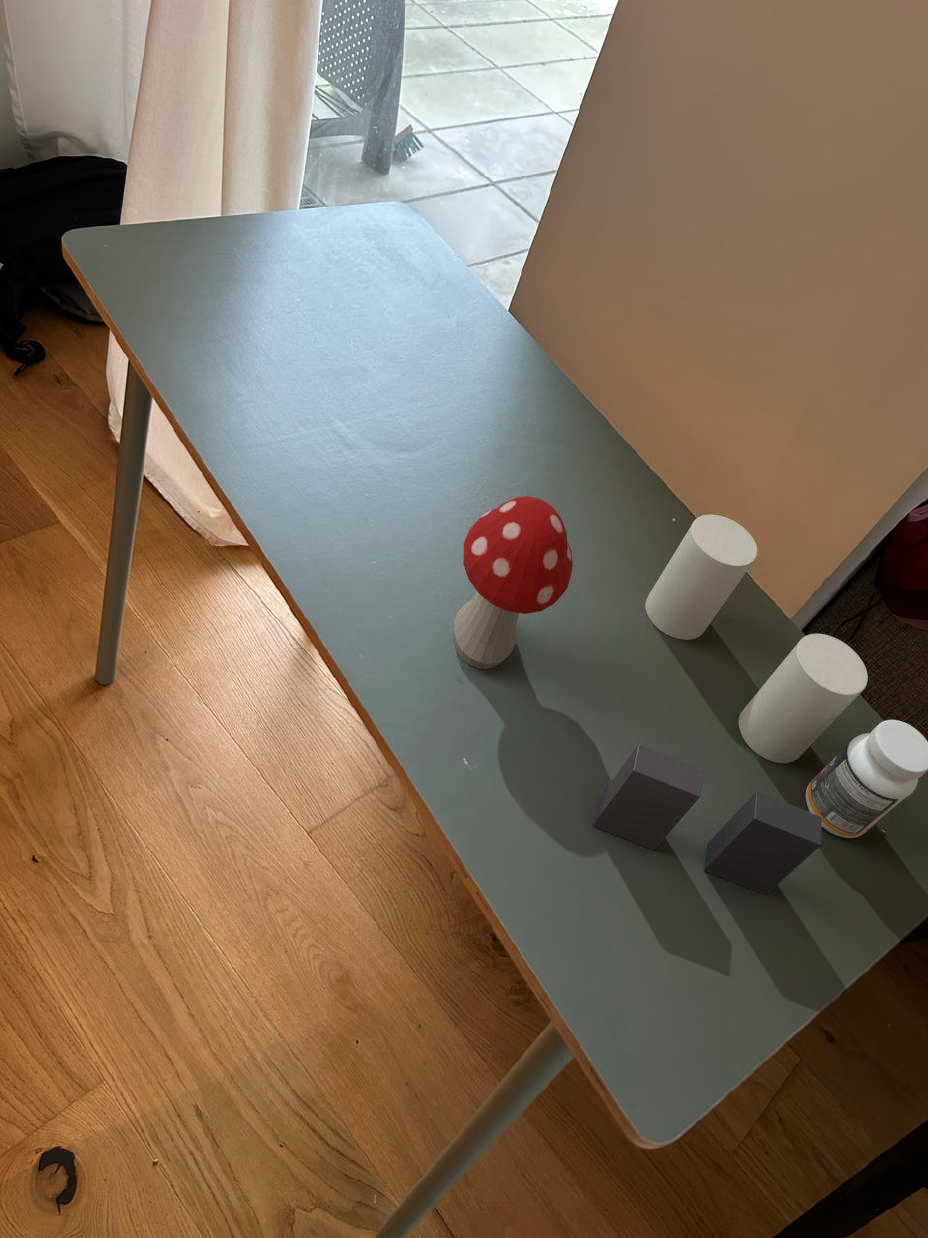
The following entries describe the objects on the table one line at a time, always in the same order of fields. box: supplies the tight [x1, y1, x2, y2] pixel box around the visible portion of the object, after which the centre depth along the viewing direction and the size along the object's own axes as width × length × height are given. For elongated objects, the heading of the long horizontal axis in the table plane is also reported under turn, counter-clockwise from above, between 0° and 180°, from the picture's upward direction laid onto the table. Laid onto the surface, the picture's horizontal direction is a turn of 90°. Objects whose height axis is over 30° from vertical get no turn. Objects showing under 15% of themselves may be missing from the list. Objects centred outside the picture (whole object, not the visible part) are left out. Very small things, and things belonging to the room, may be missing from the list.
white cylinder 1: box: [644, 514, 758, 641], centre depth 89 cm, size 6×6×10 cm
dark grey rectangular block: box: [592, 744, 705, 851], centre depth 73 cm, size 5×2×8 cm, turn 74°
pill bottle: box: [805, 719, 928, 839], centre depth 79 cm, size 6×6×10 cm
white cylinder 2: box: [738, 633, 869, 764], centre depth 82 cm, size 6×6×10 cm
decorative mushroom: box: [453, 495, 574, 670], centre depth 78 cm, size 10×9×15 cm
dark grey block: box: [703, 791, 823, 896], centre depth 73 cm, size 5×2×8 cm, turn 74°
